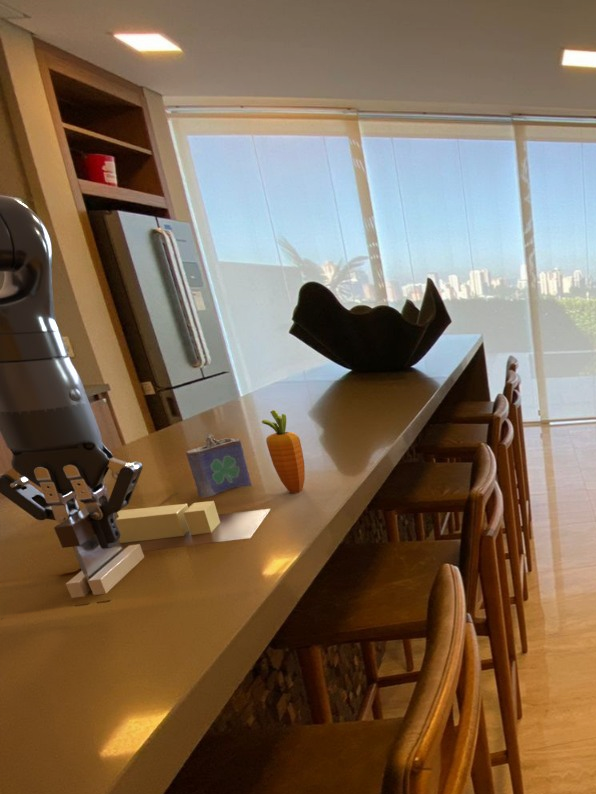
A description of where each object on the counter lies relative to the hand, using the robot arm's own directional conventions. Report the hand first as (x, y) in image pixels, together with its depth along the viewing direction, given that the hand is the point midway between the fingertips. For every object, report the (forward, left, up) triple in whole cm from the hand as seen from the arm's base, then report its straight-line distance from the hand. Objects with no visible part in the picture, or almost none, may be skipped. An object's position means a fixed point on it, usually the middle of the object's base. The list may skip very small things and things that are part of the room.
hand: (98, 546), depth 67 cm
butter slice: (+6, +13, -4) cm, 15 cm away
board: (+4, +13, -5) cm, 15 cm away
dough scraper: (0, 0, -5) cm, 5 cm away
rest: (0, 0, -5) cm, 5 cm away
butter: (0, +13, -4) cm, 14 cm away
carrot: (+15, +27, -5) cm, 31 cm away
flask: (+3, +33, -5) cm, 34 cm away
